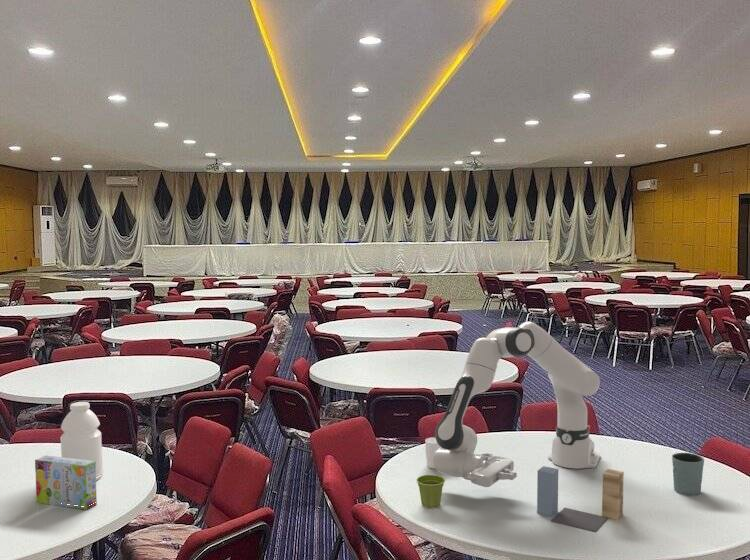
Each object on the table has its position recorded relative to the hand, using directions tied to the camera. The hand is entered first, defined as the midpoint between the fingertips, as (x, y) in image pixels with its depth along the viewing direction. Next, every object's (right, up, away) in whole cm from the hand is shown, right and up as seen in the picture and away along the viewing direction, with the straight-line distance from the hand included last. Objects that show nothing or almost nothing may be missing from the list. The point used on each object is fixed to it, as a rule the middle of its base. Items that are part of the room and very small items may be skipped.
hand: (514, 476), depth 237 cm
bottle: (-154, -9, +28) cm, 157 cm away
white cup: (-23, -7, +39) cm, 46 cm away
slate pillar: (+9, -10, -6) cm, 15 cm away
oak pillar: (+29, -10, -9) cm, 32 cm away
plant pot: (-28, -10, +1) cm, 29 cm away
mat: (+18, -10, -12) cm, 24 cm away
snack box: (-150, -11, +4) cm, 150 cm away
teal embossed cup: (+62, -8, +11) cm, 63 cm away
